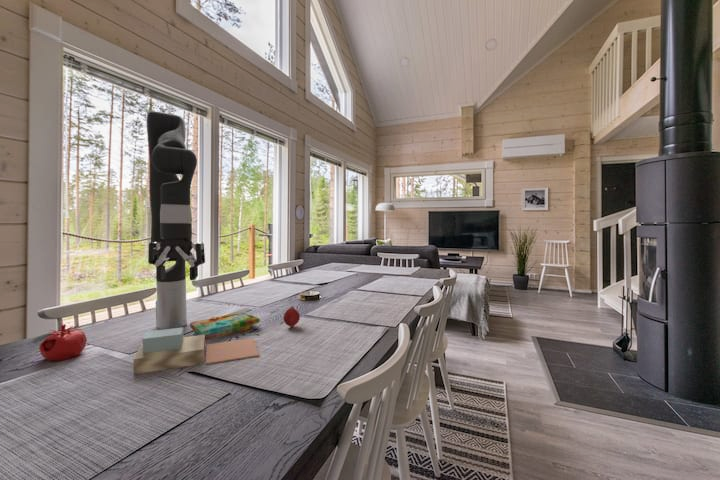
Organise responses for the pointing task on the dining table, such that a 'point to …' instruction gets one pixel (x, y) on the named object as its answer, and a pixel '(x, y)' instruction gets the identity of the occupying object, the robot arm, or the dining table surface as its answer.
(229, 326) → the puzzle game
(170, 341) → the pale teal block
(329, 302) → the dining table surface
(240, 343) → the tan flat square slab
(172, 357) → the birch deck
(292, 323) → the onion
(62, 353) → the red tomato
